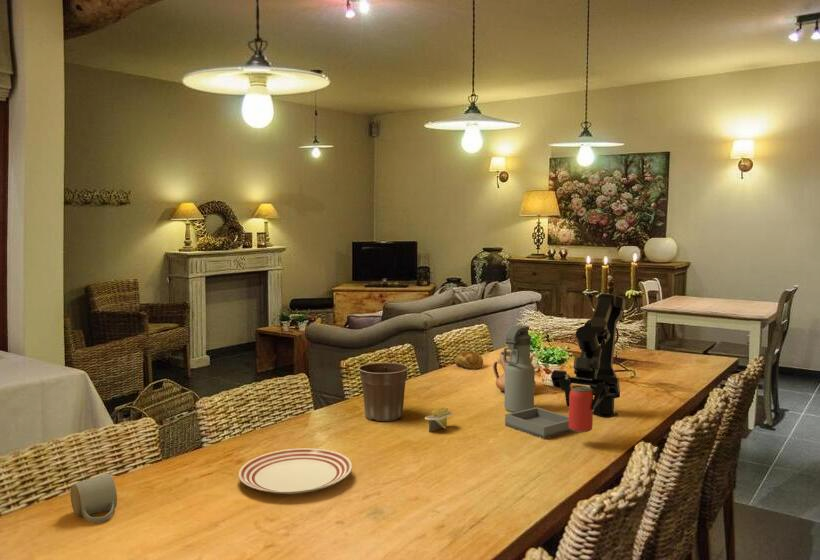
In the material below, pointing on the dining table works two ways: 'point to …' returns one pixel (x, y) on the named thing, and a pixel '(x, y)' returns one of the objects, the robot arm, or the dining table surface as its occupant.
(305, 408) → the dining table surface
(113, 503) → the ceramic mug
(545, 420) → the tray
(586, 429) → the beer can
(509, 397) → the water bottle
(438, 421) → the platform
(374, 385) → the plant pot
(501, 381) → the ceramic jug
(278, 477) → the dinner plate
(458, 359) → the bread roll
